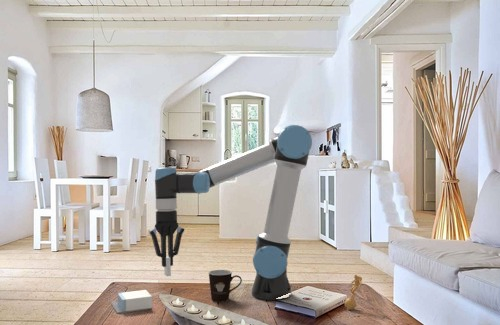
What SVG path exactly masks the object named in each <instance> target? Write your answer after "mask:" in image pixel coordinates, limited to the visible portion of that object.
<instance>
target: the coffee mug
mask: <svg viewBox="0 0 500 325" xmlns="http://www.w3.org/2000/svg"><path fill="white" fill-rule="evenodd" d="M232 274H233V271H232V270H228V269H214V270H210V271H208V279H209V280H208V281H209V289H210V296H211V297H210V298H211V299H210V300H211V301H213V302H215V301H216V302H217V303H223V302H222V301H224V302H228V301H230V300H229V299H230V293H231V292H233V291H234V290H236V289H238V287H240V286H241V284H242V283H243V282H242V280H243V279H242V277H241V276H240V275H233V276H232ZM235 278H239V280H240V282H239V283H238V284H237V285H236V286H234V287H233V288H231V282H232V281H233V279H235Z"/></svg>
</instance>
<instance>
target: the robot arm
mask: <svg viewBox="0 0 500 325" xmlns="http://www.w3.org/2000/svg"><path fill="white" fill-rule="evenodd" d="M312 139H313V138H312V135H311V134H310V132H309V130H308V129H306V128H305V127H304V126H302V125H298V124H291V125H290V124H289V125H287V126H286V127H284V128H283V129H281V131H280V132H279V134H278V135H277V136H276V137H273V138H271V139H269V140H268V142H267V143H266V144H263V145H261V146H258V147H256V148H253V149H251V150H249V151H246V152H243V153H241V154H238V155H236V156H234V157H231V158H228V159H226V160H224V161H221V162H219V163H216V164H213V165H211V166H209V167H206V168H204V169H201V170H199V171H195V172H190V171H189V172H178V171H177V168H176V167H158V168H156V170H155V172H154V173H155V174H154V175H155V177H154V182H155V183H154V184H155V185H154V187H155V189H154V190H155V210H156V211H155V225H154V228H152V229H149V230H148V233H149V235H150V236H151V239H152V243H153V247H154V250H155V254H156V256H157V257H159V258H161V267H163V268H164V276H165V277H170V276H171V275H172V274H171V273H172V272H171V271H172V270H171V269H172V268H171V267H173V266H174V257H175V256H178V255H179V251H180V245H181V240H182V236H183V234H184V232H185V228H183V227H181V226H179V223H178V210H176V209H177V208H178V205H177V201H178V200H177V197H178V196H177V195H178V194H198V195H200V194H206V193H208V192H209V191H210V189H211V188H213V187H215V186H218V185H220V184H223V183H225V182H227V181H230V180H233V179H235V178H238V177H241V176H243V175H245V174H248V173H250V172H253V171H255V170H257V169H260V168H263V167H265V166H268V165H270V164H273V163H276V170H275V175H274V180H273V185H272V190H271V194H270V199H269V204H268V210H267V214H266V219H265V223H264V228H263V231H262V232H261V233H259V234H258V235H257V236H256V240H255V244H256V246H255V247H256V248H255V251H254V254H253V258H252V265H253V267H254V269H255V271H256V275H255V279H254V281H253V283H252V284H253V285H252V288H251V296H252V297H253V298H256V299H258V300H259V299H260V300H265V301H276V300H275V299H276V298H278V297H281V296H283V295H286V294H288V293H291V294H292V287H291V284H290V282H289V278H288V273H287V272H288V271H287V269H288V268H287V266H288V257H289V253H290V249H291V248H290V247H291V239H289V237H288V236H289V231H290V227H291V222H292V216H293V213H294V212H293V211H294V208H295V202H296V196H297V193H298V192H297V191H298V187H299V183H300V178H301V172H302V170H303V169H305V168H307V164H308V160H309V155H310V150H311V149H312V146H313V140H312ZM157 232H158V233H157ZM175 233H176V236H175V239H174V234H175ZM157 234H159V235H160V244H159V240H158V237H157ZM174 240H175V241H174ZM167 255H168V256H167Z"/></svg>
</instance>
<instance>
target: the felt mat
mask: <svg viewBox="0 0 500 325" xmlns="http://www.w3.org/2000/svg"><path fill="white" fill-rule="evenodd" d="M110 305H111V306H112V308H113V310H114V311H115V313H116V314H125V313H133V312H140V311H147V310H150V309H151V308H147V309H139V310H132V311H124V312H122V310H121V309H120V307H119V306H118V300H117V301H110Z"/></svg>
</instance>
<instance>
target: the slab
mask: <svg viewBox="0 0 500 325" xmlns="http://www.w3.org/2000/svg"><path fill="white" fill-rule="evenodd" d="M117 301H118V306H119V307H120V309H121V310H122V312H124V311H132V310H139V309H147V308H150V309H153V303H152V302H153V296H152V295H151V293H149V292H148V290H146V289H143V290H141V289H140V290H134V291H133V290H132V291H125V292H117Z"/></svg>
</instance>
